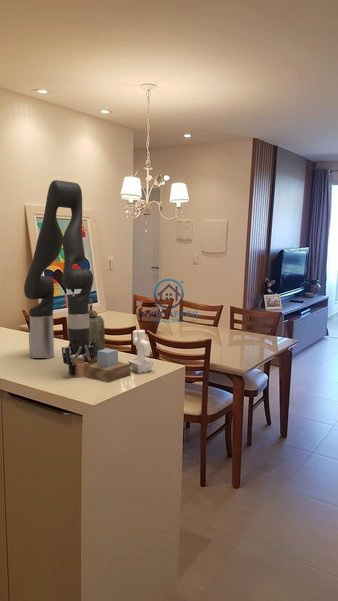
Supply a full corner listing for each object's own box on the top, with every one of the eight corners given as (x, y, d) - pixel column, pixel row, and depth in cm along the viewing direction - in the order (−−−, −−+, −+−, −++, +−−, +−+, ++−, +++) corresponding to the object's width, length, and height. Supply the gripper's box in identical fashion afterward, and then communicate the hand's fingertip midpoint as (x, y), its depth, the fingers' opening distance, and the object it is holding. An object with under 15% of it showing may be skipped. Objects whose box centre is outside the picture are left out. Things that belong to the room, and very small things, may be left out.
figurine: (139, 375, 160) (139, 333, 159) (126, 369, 168) (125, 329, 166) (156, 372, 164) (156, 331, 163) (143, 366, 172) (143, 327, 170)
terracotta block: (70, 375, 160) (70, 363, 160) (80, 372, 164) (79, 360, 163) (79, 377, 158) (79, 365, 157) (88, 375, 161) (88, 362, 161)
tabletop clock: (105, 365, 174) (104, 300, 172) (80, 367, 172) (79, 300, 169) (99, 357, 188) (98, 296, 185) (77, 358, 186) (76, 297, 183)
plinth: (85, 376, 158) (85, 365, 158) (107, 370, 167) (107, 359, 167) (108, 382, 152) (108, 370, 151) (130, 375, 161) (130, 364, 160)
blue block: (97, 365, 158) (97, 350, 158) (107, 362, 162) (107, 348, 162) (107, 367, 155) (107, 352, 155) (118, 364, 159) (117, 350, 159)
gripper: (70, 330, 151) (71, 379, 153) (101, 324, 162) (101, 370, 164) (55, 327, 155) (56, 376, 157) (86, 322, 167) (87, 367, 169)
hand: (79, 373), depth 161 cm, fingers open, 6 cm apart
